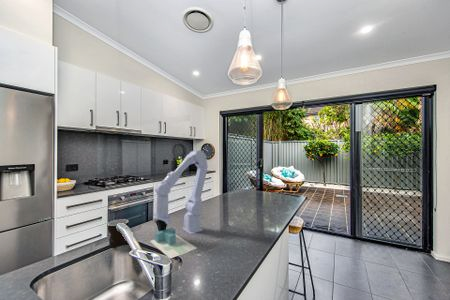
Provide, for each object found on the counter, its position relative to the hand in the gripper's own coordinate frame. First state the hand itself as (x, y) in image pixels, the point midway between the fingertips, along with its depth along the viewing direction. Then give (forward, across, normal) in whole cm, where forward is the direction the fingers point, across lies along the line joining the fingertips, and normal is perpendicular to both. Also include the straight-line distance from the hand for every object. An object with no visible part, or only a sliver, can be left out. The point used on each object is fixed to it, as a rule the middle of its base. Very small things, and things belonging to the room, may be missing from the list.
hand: (161, 234), depth 97 cm
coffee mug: (+2, -5, -19) cm, 20 cm away
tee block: (+1, +7, 0) cm, 7 cm away
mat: (+1, +11, 0) cm, 11 cm away
